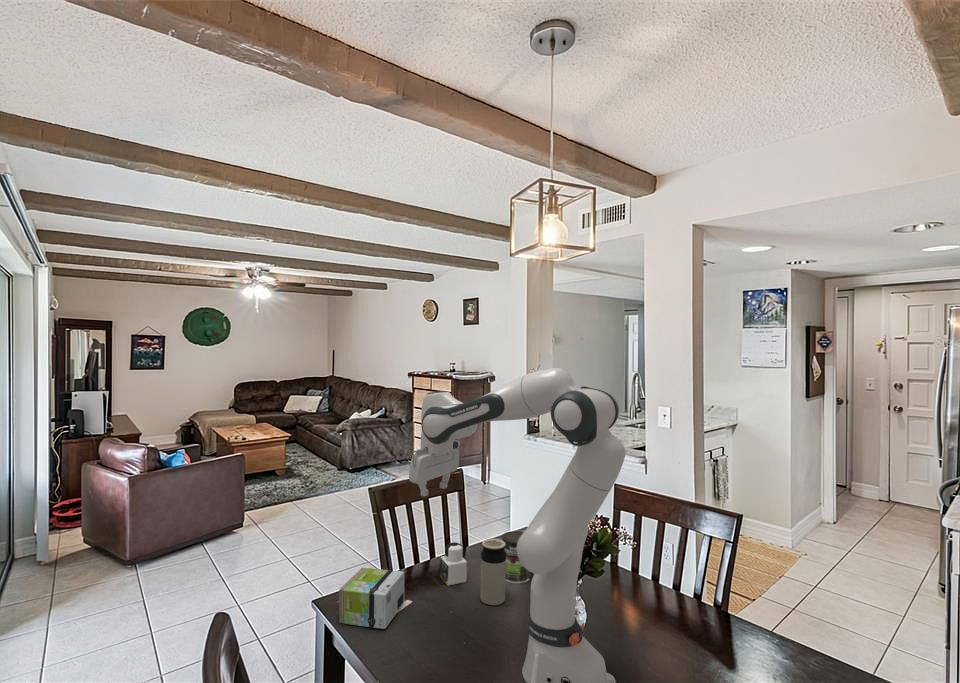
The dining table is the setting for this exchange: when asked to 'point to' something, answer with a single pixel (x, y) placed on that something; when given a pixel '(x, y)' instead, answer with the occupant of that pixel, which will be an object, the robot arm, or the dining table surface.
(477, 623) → the dining table surface
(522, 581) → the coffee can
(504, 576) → the travel mug
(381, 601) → the tea box
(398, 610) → the strip
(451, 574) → the medicine bottle
